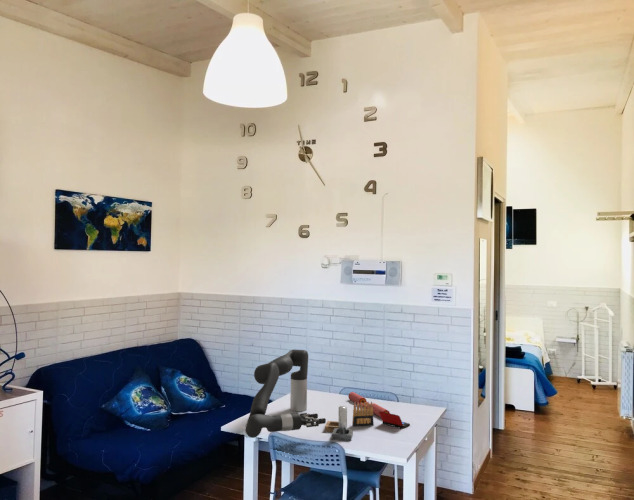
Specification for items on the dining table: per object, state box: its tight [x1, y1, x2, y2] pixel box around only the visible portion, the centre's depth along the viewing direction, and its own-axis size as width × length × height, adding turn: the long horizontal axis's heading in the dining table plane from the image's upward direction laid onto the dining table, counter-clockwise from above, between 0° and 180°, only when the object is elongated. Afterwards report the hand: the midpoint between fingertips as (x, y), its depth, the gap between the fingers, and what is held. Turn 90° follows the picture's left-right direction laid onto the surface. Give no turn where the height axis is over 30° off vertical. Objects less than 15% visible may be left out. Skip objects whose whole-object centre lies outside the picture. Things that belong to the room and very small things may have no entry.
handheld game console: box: [379, 411, 411, 430], centre depth 275 cm, size 12×11×7 cm
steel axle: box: [337, 405, 348, 434], centre depth 256 cm, size 4×4×14 cm
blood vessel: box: [348, 391, 391, 418], centre depth 306 cm, size 42×5×5 cm, turn 22°
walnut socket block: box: [324, 420, 338, 433], centre depth 268 cm, size 9×9×2 cm
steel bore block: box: [331, 428, 354, 441], centre depth 256 cm, size 9×9×2 cm
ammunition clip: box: [352, 401, 375, 427], centre depth 274 cm, size 11×2×12 cm, turn 101°
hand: (321, 418), depth 251 cm, fingers open, 8 cm apart
